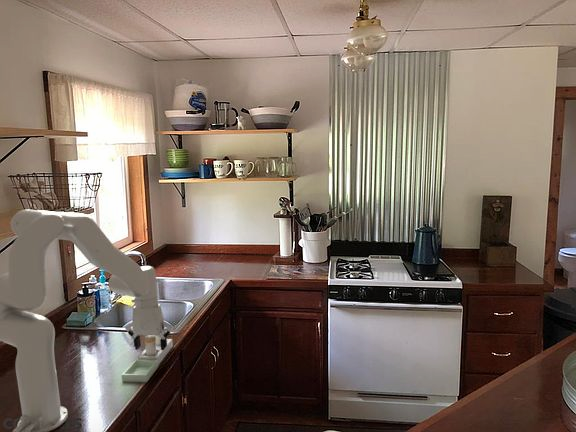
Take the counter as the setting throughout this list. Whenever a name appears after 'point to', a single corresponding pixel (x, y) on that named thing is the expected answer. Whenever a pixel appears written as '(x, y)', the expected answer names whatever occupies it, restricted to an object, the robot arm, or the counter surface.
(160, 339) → the cylinder
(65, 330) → the counter surface
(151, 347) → the cylinder
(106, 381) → the counter surface
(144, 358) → the holder block
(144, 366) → the tray
